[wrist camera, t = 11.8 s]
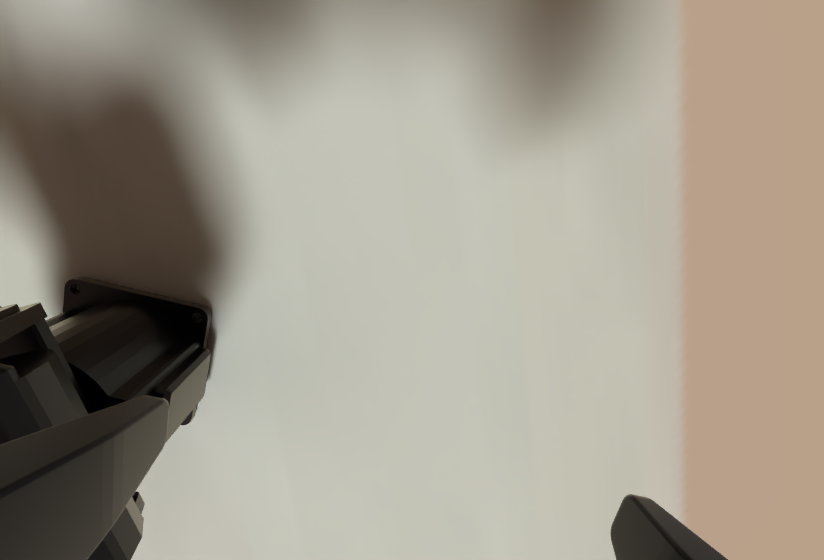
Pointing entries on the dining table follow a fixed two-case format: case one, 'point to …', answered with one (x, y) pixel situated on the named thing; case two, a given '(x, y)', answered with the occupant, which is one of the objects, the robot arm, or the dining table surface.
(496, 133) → the dining table surface
